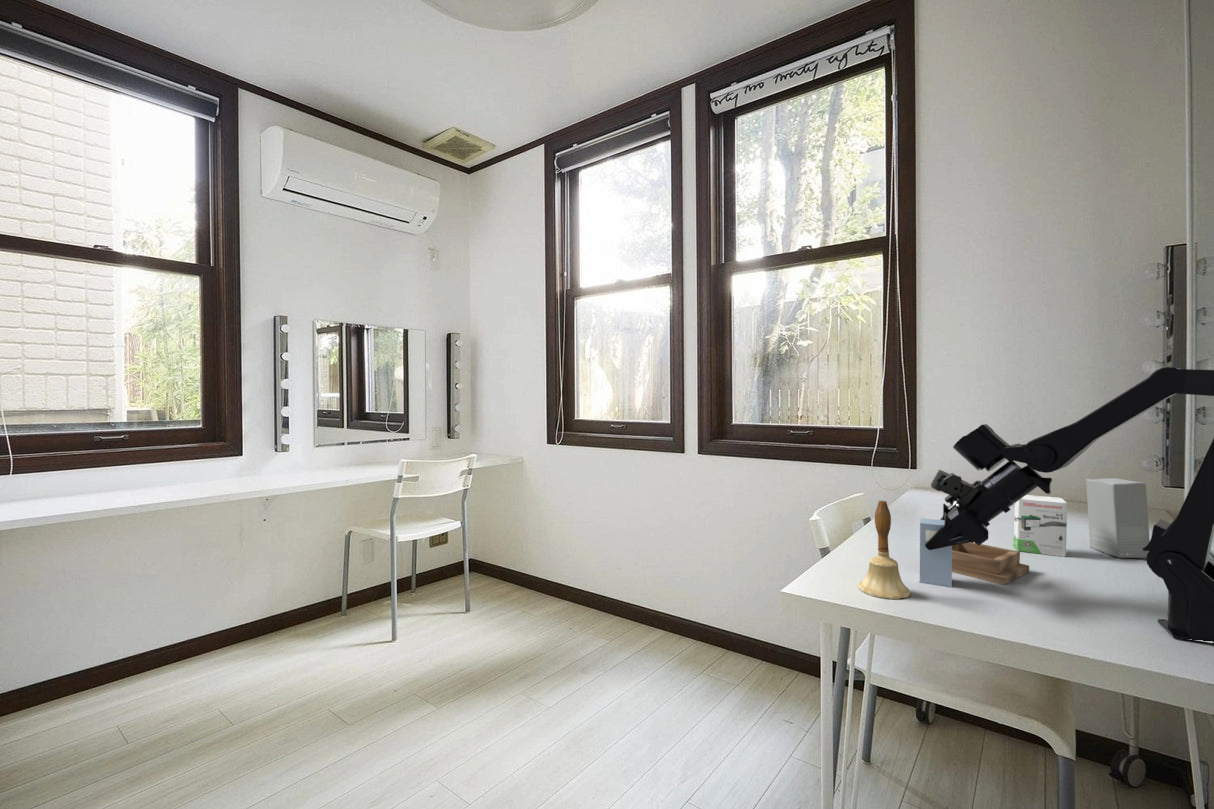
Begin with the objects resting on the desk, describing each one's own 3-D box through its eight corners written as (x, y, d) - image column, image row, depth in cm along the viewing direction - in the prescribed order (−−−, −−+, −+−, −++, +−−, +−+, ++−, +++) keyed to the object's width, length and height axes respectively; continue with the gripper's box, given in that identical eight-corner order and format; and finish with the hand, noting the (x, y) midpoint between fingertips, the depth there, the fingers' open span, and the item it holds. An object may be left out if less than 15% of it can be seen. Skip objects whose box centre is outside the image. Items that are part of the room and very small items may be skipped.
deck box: (951, 587, 98) (952, 526, 98) (919, 582, 101) (920, 523, 101) (950, 579, 102) (951, 520, 102) (919, 574, 105) (920, 517, 104)
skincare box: (1151, 559, 113) (1153, 483, 112) (1112, 558, 114) (1113, 482, 113) (1120, 548, 121) (1121, 476, 121) (1083, 546, 122) (1084, 476, 122)
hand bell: (870, 599, 93) (871, 506, 92) (850, 582, 101) (850, 496, 101) (920, 599, 93) (921, 506, 92) (895, 582, 101) (896, 496, 101)
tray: (1004, 584, 99) (1004, 564, 99) (923, 564, 111) (923, 546, 111) (1029, 571, 106) (1029, 552, 106) (950, 554, 118) (950, 537, 118)
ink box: (1016, 551, 119) (1017, 497, 119) (1013, 545, 124) (1013, 493, 123) (1067, 557, 115) (1068, 501, 115) (1062, 551, 119) (1062, 497, 119)
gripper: (958, 451, 107) (894, 502, 113) (965, 462, 91) (890, 521, 97) (1007, 495, 103) (939, 545, 109) (1023, 515, 87) (941, 572, 93)
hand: (926, 544), depth 102 cm, fingers closed on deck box, 5 cm apart
